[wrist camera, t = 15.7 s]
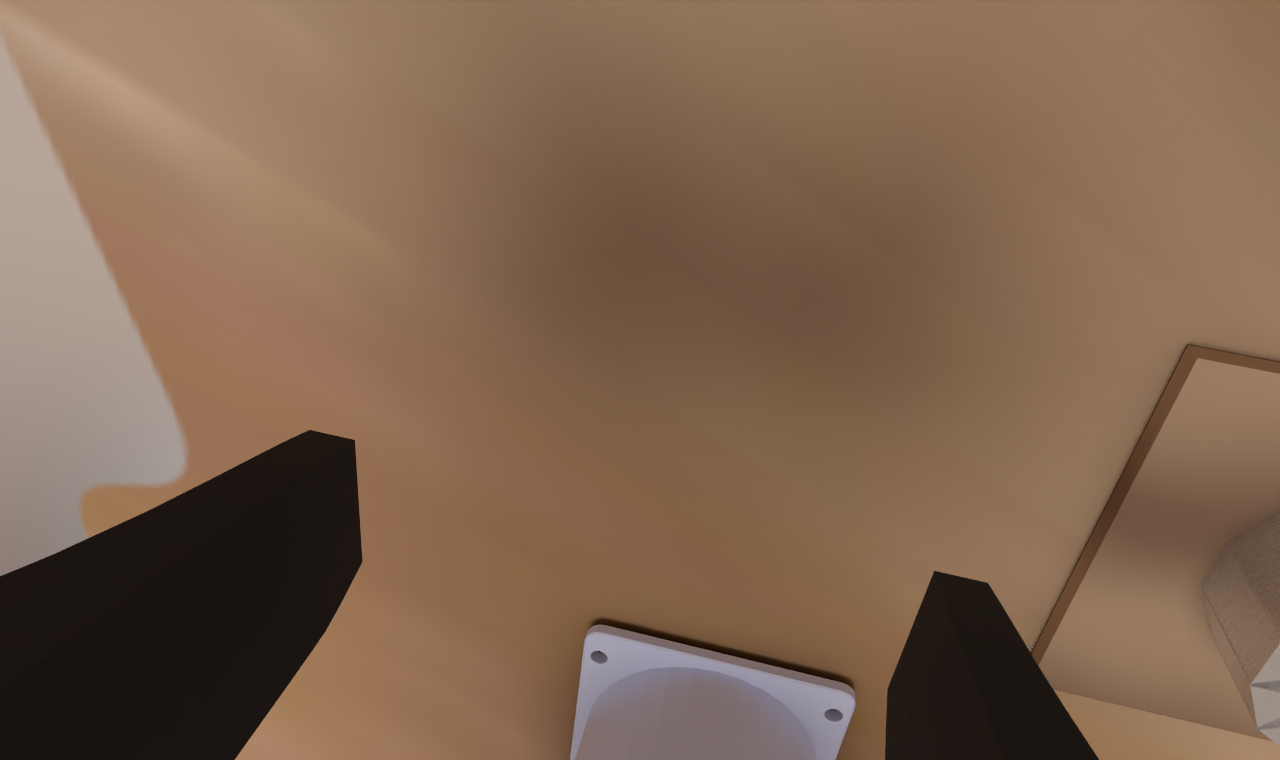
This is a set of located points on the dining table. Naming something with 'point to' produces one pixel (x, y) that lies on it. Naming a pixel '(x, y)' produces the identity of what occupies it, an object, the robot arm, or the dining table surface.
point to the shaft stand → (1172, 548)
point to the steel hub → (1249, 619)
